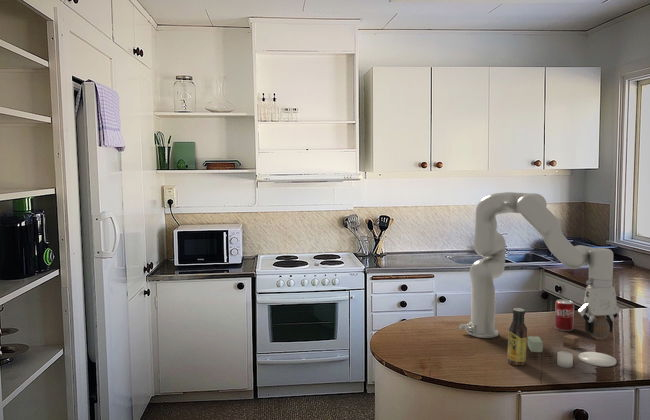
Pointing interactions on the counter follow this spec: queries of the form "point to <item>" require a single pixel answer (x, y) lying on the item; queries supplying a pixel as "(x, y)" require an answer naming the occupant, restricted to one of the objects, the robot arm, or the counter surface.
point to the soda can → (564, 315)
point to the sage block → (535, 344)
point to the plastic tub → (565, 359)
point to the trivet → (597, 359)
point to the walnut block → (571, 341)
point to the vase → (600, 327)
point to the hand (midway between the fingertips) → (598, 331)
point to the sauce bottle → (517, 338)
